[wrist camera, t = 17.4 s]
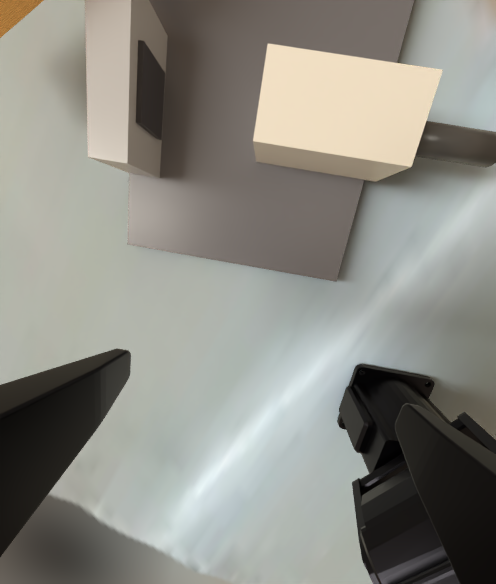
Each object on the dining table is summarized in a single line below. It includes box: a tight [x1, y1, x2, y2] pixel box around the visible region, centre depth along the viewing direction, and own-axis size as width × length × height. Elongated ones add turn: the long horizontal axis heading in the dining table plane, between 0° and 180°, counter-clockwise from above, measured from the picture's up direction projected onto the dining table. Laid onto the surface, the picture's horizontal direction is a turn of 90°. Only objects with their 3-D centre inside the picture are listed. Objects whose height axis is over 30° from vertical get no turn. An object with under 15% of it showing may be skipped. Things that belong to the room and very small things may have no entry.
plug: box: [253, 43, 496, 182], centre depth 13 cm, size 13×4×4 cm, turn 81°
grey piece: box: [85, 0, 414, 281], centre depth 14 cm, size 16×18×5 cm
